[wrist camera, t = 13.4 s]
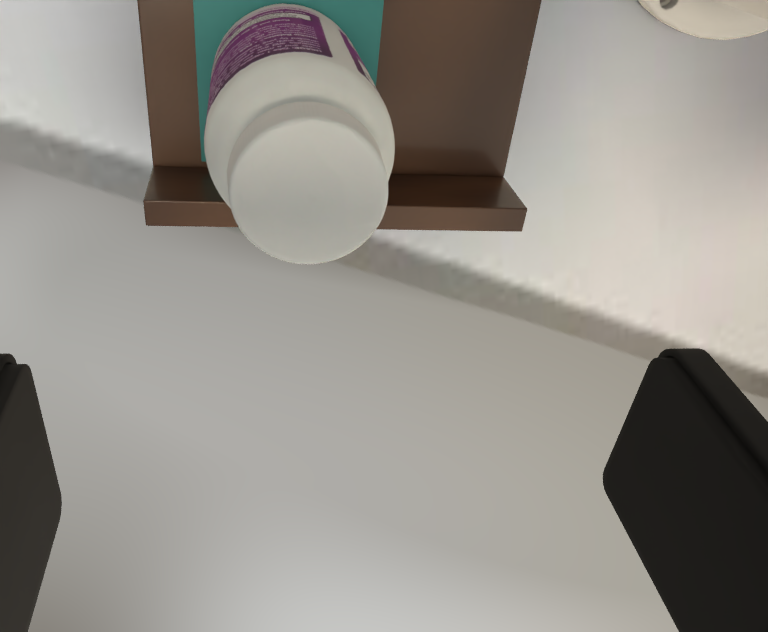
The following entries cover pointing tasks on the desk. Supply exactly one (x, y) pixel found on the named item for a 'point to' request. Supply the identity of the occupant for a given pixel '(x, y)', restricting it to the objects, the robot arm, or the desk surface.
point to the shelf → (395, 85)
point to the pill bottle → (297, 135)
